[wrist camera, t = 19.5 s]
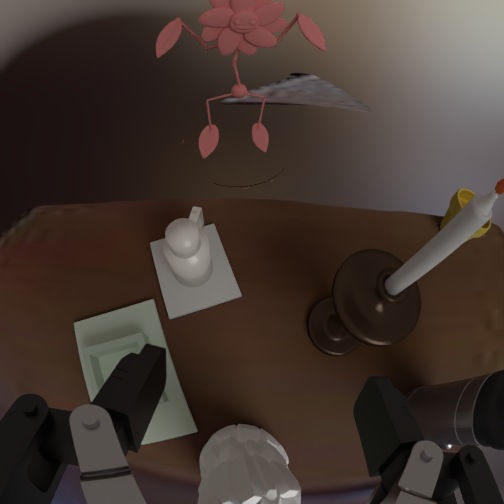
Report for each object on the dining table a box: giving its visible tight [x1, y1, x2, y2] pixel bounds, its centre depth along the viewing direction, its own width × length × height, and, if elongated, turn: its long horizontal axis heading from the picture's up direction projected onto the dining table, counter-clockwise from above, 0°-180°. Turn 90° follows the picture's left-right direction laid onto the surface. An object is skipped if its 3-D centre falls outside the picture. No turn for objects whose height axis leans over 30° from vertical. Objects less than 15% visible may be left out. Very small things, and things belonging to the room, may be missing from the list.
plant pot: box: [440, 188, 491, 241], centre depth 47 cm, size 10×10×10 cm
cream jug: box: [163, 207, 213, 287], centre depth 38 cm, size 9×6×10 cm
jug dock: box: [74, 299, 198, 445], centre depth 33 cm, size 20×14×4 cm
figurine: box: [156, 0, 326, 187], centre depth 39 cm, size 15×26×35 cm, turn 98°
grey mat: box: [150, 224, 242, 319], centre depth 42 cm, size 13×11×1 cm
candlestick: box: [307, 179, 504, 356], centre depth 25 cm, size 11×11×35 cm
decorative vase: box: [197, 424, 301, 504], centre depth 19 cm, size 11×11×25 cm
